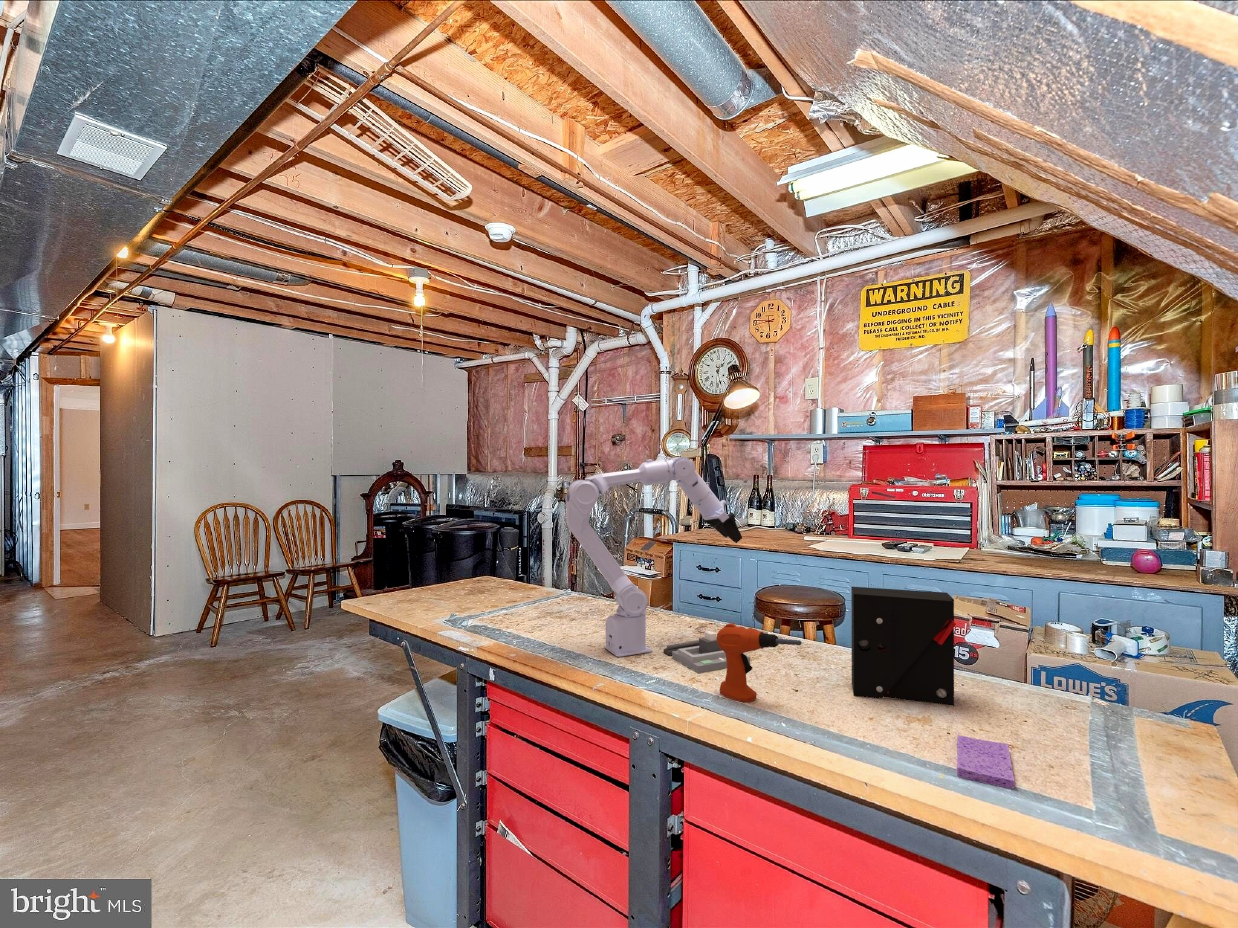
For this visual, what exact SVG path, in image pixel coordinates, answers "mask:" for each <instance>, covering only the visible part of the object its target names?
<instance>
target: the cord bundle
mask: <svg viewBox="0 0 1238 928" xmlns="http://www.w3.org/2000/svg"><path fill="white" fill-rule="evenodd" d="M695 646H699V639H698V640H693V641H686V642H680V643H679V642H678V643H674V644H668V645H666V648H663V653H664V654H665V655H667V656H672V651H678V649H682V648H688V647H695Z"/></svg>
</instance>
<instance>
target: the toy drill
mask: <svg viewBox="0 0 1238 928" xmlns="http://www.w3.org/2000/svg"><path fill="white" fill-rule="evenodd" d="M716 637H717V643H718V645H719V647H720V648H721V649H722V650H723V651H724V652H725V654H726V661H727V668H726V673H725V679H724V680H723V681H721V682H720V685H719V695H721V696H723V697H726V698H727V699H730V700H734V701H738V702H743V703H751V702H754V701H755V700H756V699H757V694H758V693H757V692H756V691H755V690H754V689H753V688H751V686H749V685H748V681H747V674H748V673H750V672H751V671H752V670H753V666H752V665H751V663H750V664H749V662H748V659H747V656H748V655H747V656H746V654H745V653H749V652H754V651H757V650H763V649H764V648H766V649H768V648H776V647H778V646H779V645H792V646H801V645H802V643H803V642H802V641H801V640H800V639H798V640H797V639H789V638H781V637H778V636H777V635H776V634H773V633H767V632H763V631H760V630H758V629H756V628H753V627H748V628H746V627H745V626H741V625H740V626H737V625H736V624H735V623H733V622H732V623H731V622H730V623H727V624H726V625H724V626H723V627H722V628H721V629H720V630H718V632H717V633H716Z"/></svg>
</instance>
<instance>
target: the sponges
mask: <svg viewBox="0 0 1238 928" xmlns="http://www.w3.org/2000/svg"><path fill="white" fill-rule="evenodd" d="M956 738H957V739H956V742H957V743H956V744H957V746H956V747H957V755H956V756H957V757H956V758H957V759H956V777H959V778H963V779H966V780H972V781H974V782H975V781H976V782H981V783H984V784H988V785H993V786H998V787H1000V788H1001V787H1003V788H1006V789H1009V790H1015V778H1014V772H1013V766H1012V765H1013V764H1012V759H1011V754H1010V748H1009V743H1005V742H997V741H992V740H984V739H977V738H972V737H969V736H965V735H960V734H957V737H956Z"/></svg>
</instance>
